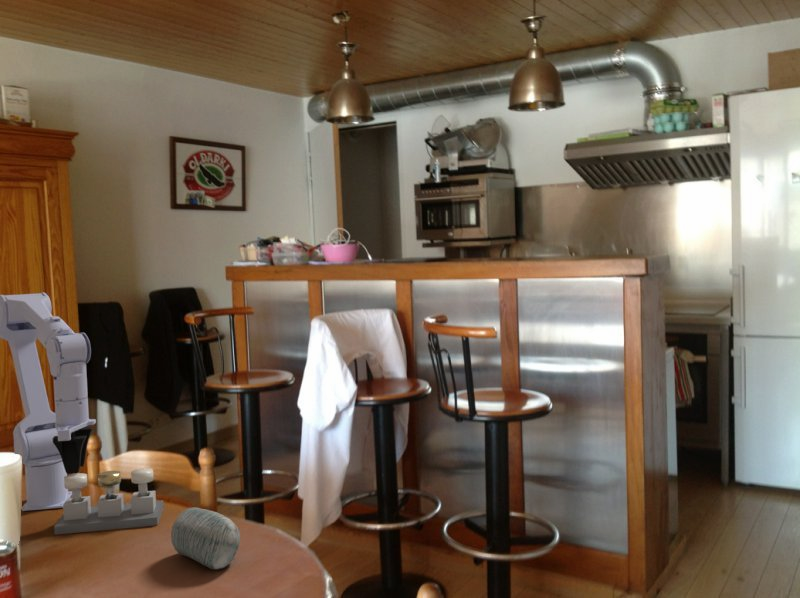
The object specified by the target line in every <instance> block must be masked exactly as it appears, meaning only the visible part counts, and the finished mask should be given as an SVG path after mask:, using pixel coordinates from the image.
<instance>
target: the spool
mask: <svg viewBox="0 0 800 598" xmlns="http://www.w3.org/2000/svg"><path fill="white" fill-rule="evenodd" d="M171 528H172V529H171V534H170V537H171V539H170V540H171V545H172V547H173V549H174V550H175V551H176V553H178V555H180V556H184V557H185V556H186V557H187V558H189V559H192V560H193V561H195V562H197V563H199V564H201V565H203V566H204V567H207V568H209V569H211V570H222V569H224V568H226V567H227V566H229V565H230V564H231V562H233V560H234V559H235V557H236V555H237V554H238V551H239V547H240V544H241V533H240V530H239V527H238V525H237V524H236V523H235V522H234V521H233V520H232V519H230V518H229V517H227V516H226V515H223V514H221V513H219V512H216V511H213V510H210V509H205V508H200V507H188V508H186V509H185V510H183V511H182V512H181V513H179V514H178V516H177V518H176V519H175V520H174V522H173V525H172V526H171Z"/></svg>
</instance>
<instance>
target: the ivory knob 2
mask: <svg viewBox="0 0 800 598" xmlns="http://www.w3.org/2000/svg"><path fill="white" fill-rule="evenodd" d="M130 477H131V479H130V480H131V483H132V484H135V485H136V484H137V486H138V487H137V488H138V492H139V497H145V496H148V491H149V490H148V483H151V482H153V481H154V469H153V468H150V467H149V468H148V467H144V468H138V469H134V470H132V471H130Z"/></svg>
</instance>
